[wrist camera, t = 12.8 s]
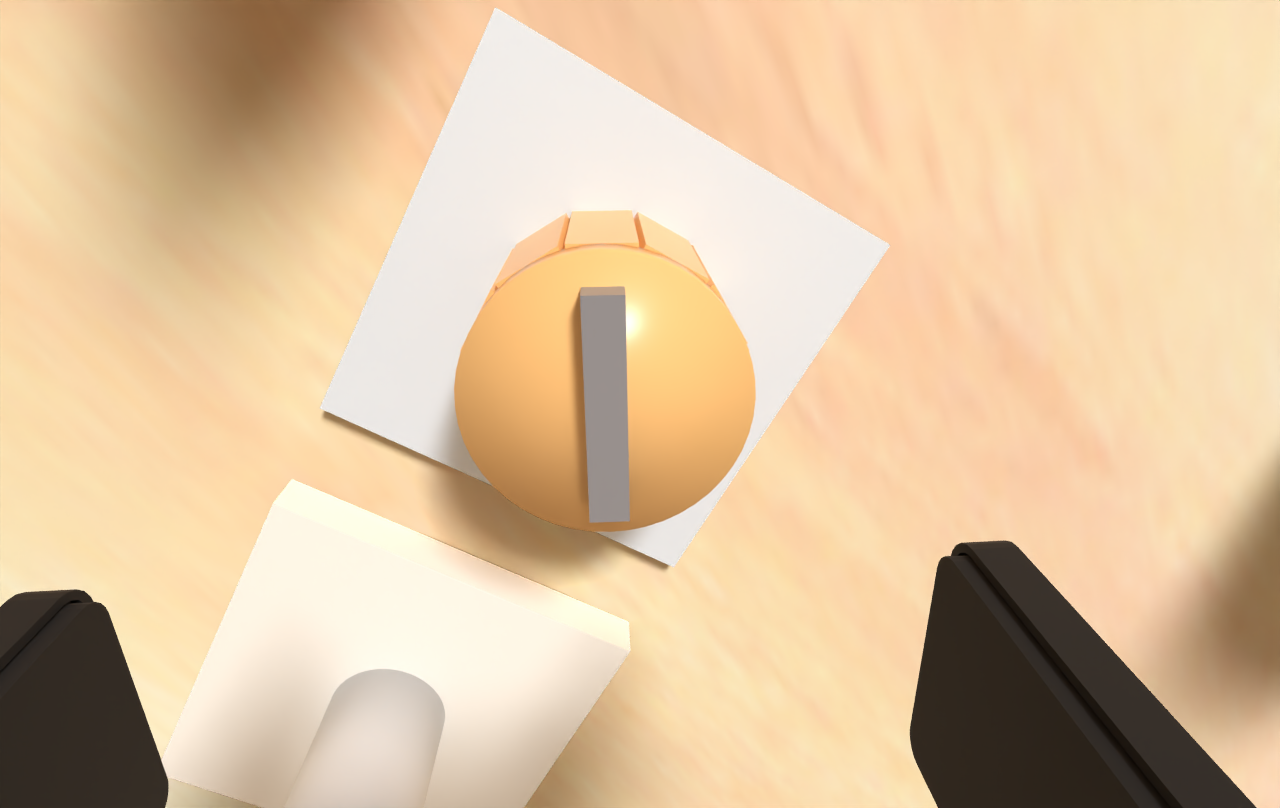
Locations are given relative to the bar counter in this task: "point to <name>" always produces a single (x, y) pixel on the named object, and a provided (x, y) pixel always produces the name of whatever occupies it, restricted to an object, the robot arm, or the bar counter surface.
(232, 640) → the post block
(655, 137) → the mat
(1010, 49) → the bar counter surface
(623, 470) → the knob
